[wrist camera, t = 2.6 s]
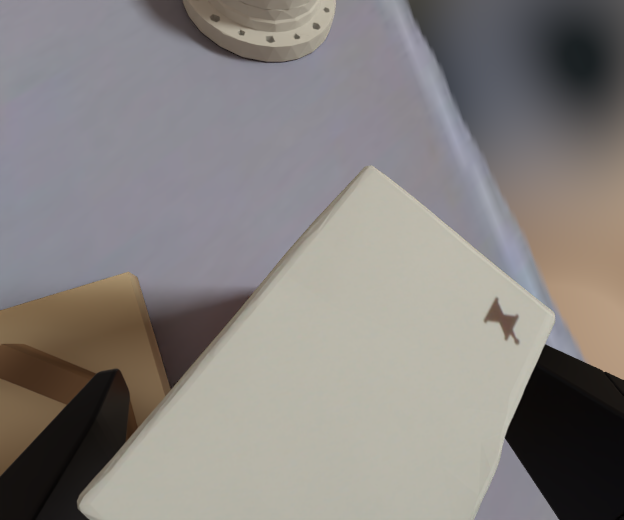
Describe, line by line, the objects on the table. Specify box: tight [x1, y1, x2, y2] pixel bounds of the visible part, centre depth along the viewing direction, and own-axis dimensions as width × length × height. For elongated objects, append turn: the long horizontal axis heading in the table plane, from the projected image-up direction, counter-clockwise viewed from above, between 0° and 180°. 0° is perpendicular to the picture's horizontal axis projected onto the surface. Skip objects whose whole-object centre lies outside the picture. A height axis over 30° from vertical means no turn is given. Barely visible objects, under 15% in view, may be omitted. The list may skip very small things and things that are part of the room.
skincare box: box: [77, 166, 555, 520], centre depth 10 cm, size 6×4×12 cm
